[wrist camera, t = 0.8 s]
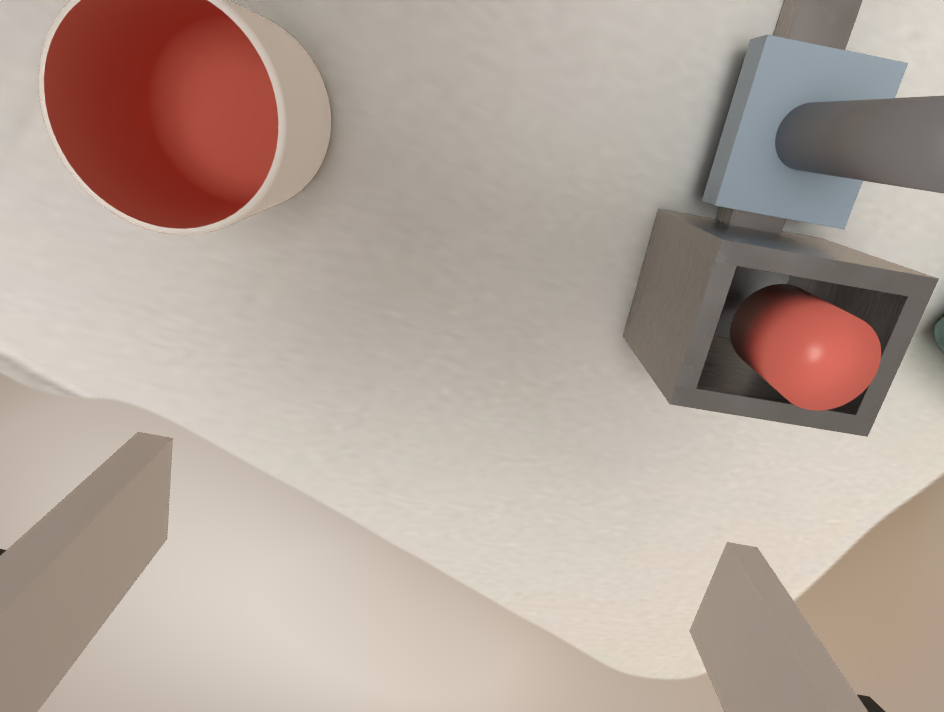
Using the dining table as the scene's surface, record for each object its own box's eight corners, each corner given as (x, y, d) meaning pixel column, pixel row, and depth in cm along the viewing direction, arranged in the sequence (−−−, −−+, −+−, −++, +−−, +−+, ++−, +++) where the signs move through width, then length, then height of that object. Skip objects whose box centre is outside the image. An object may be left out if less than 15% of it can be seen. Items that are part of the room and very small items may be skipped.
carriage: (734, 44, 33) (925, -11, 19) (859, 69, 33) (1137, 33, 19) (690, 196, 36) (828, 245, 22) (805, 217, 36) (1015, 280, 22)
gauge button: (746, 276, 30) (796, 305, 26) (833, 292, 30) (898, 323, 26) (718, 360, 32) (760, 401, 27) (801, 374, 32) (856, 417, 27)
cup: (372, 137, 35) (335, 144, 26) (240, 239, 37) (162, 279, 28) (252, -31, 32) (162, -92, 23) (116, 90, 34) (-17, 79, 25)
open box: (658, 208, 36) (722, 239, 27) (824, 239, 37) (942, 279, 28) (623, 336, 39) (669, 404, 30) (777, 362, 40) (871, 437, 30)
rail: (842, -259, 29) (897, -315, 25) (944, -235, 29) (1013, -288, 25) (699, 216, 37) (725, 227, 33) (781, 231, 37) (815, 243, 33)
